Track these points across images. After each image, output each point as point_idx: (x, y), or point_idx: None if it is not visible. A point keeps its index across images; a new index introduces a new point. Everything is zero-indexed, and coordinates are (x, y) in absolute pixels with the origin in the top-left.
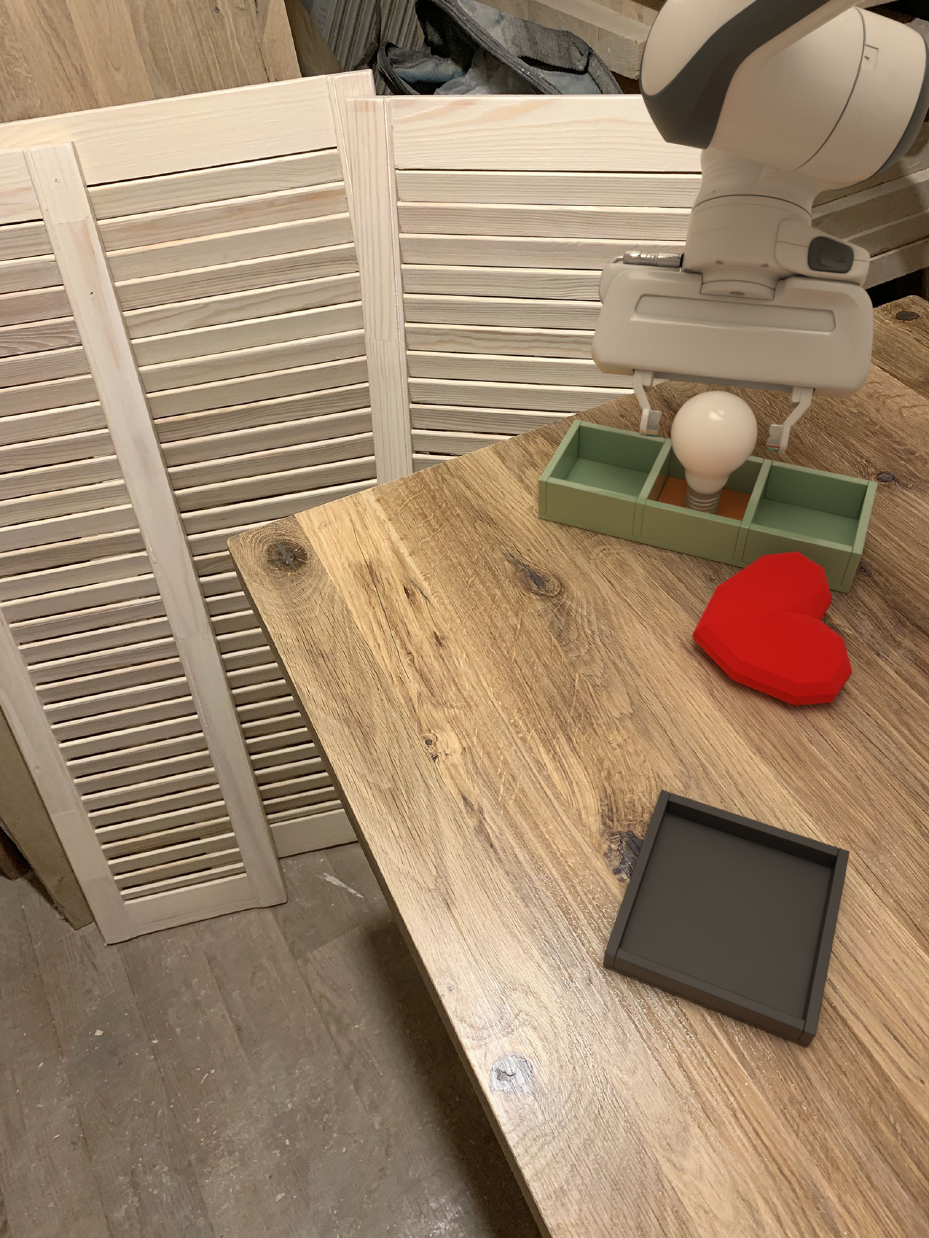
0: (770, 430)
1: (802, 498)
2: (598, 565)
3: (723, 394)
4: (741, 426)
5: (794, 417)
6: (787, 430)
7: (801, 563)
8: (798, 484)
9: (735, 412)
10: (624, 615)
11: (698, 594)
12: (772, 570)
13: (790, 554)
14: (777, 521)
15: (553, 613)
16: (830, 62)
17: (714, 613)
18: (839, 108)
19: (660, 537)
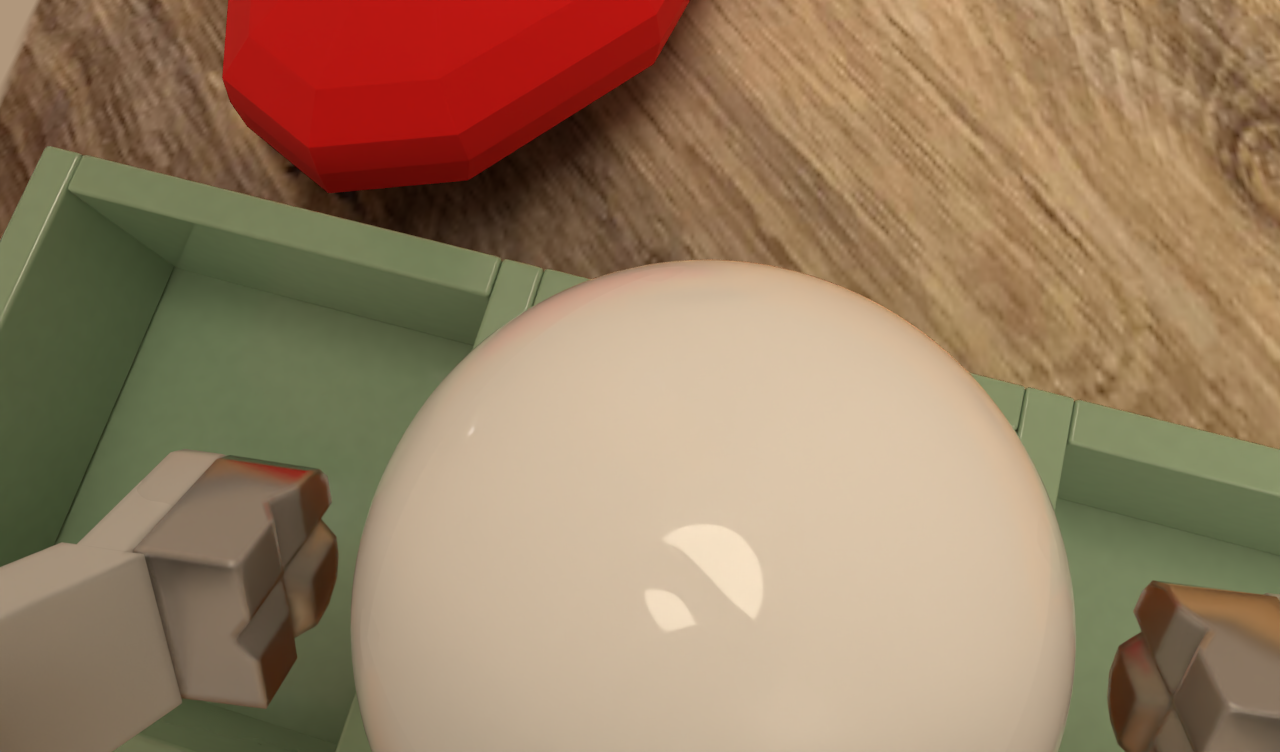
0: (256, 527)
1: (213, 715)
2: (1109, 296)
3: (660, 680)
4: (496, 357)
5: (5, 582)
6: (120, 517)
7: (307, 44)
8: (207, 731)
9: (542, 421)
10: (970, 62)
11: (706, 186)
12: (433, 7)
13: (342, 85)
14: None
15: (1231, 42)
16: None
17: None
18: None
19: None
